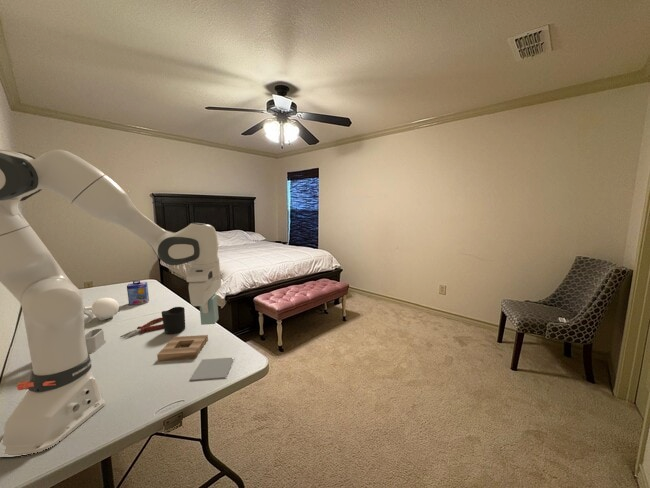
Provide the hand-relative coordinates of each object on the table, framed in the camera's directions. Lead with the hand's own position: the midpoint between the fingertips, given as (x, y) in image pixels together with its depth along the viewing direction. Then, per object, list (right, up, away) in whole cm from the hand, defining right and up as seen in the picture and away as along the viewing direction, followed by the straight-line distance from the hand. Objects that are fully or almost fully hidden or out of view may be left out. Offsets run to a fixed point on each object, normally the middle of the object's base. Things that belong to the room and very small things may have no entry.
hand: (208, 309), depth 92 cm
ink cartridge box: (-75, -14, +72) cm, 105 cm away
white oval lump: (-78, -17, +51) cm, 95 cm away
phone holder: (-62, -22, +18) cm, 68 cm away
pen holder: (-31, -19, +34) cm, 50 cm away
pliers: (-46, -19, +37) cm, 62 cm away
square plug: (0, -5, +1) cm, 5 cm away
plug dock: (-17, -21, +16) cm, 31 cm away
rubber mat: (0, -22, +3) cm, 22 cm away
